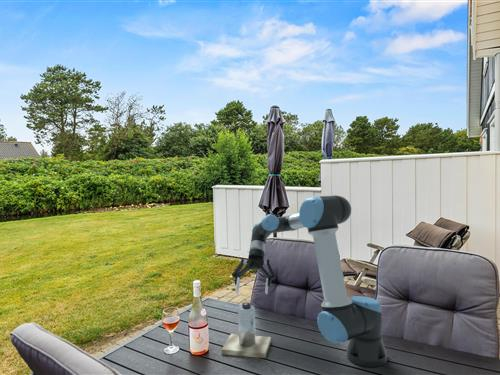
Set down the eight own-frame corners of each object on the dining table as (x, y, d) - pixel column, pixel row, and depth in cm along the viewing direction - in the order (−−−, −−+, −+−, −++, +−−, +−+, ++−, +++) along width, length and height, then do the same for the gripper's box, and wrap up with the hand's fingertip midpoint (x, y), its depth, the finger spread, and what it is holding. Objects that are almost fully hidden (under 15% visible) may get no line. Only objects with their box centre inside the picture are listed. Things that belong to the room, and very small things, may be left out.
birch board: (270, 341, 149) (270, 337, 149) (265, 358, 135) (265, 353, 135) (231, 338, 153) (231, 333, 153) (221, 354, 139) (221, 349, 139)
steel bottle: (257, 339, 147) (256, 301, 146) (253, 347, 140) (252, 307, 140) (241, 338, 148) (240, 300, 148) (237, 346, 142) (236, 306, 141)
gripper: (283, 256, 168) (279, 297, 154) (234, 255, 173) (226, 294, 159) (281, 248, 163) (277, 289, 148) (230, 247, 168) (222, 287, 154)
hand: (251, 292), depth 154 cm, fingers open, 13 cm apart
